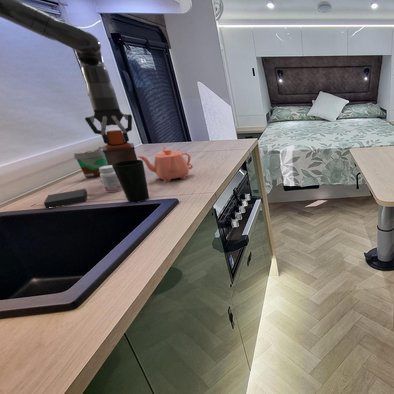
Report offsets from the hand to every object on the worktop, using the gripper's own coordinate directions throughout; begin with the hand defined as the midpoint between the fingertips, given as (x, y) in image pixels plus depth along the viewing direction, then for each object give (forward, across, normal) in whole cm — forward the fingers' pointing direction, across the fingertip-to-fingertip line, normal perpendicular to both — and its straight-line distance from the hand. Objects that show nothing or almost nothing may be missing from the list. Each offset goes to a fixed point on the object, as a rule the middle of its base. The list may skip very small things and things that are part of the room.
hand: (117, 143), depth 109 cm
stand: (+13, +16, +19) cm, 28 cm away
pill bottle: (+13, +4, +16) cm, 21 cm away
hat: (+1, 0, 0) cm, 1 cm away
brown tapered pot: (+13, 0, 0) cm, 13 cm away
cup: (+13, -2, +31) cm, 34 cm away
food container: (+13, +8, -10) cm, 19 cm away
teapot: (+13, -13, +13) cm, 23 cm away
